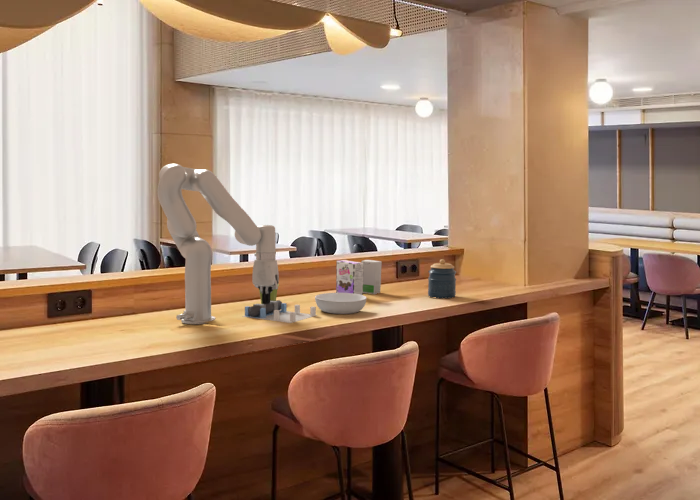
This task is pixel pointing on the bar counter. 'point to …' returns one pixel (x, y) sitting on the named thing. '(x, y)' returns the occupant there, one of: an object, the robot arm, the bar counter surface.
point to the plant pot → (272, 295)
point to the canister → (442, 280)
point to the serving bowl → (340, 302)
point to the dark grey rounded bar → (269, 307)
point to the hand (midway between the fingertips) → (266, 303)
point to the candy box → (349, 277)
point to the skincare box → (371, 276)
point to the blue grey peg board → (283, 314)
